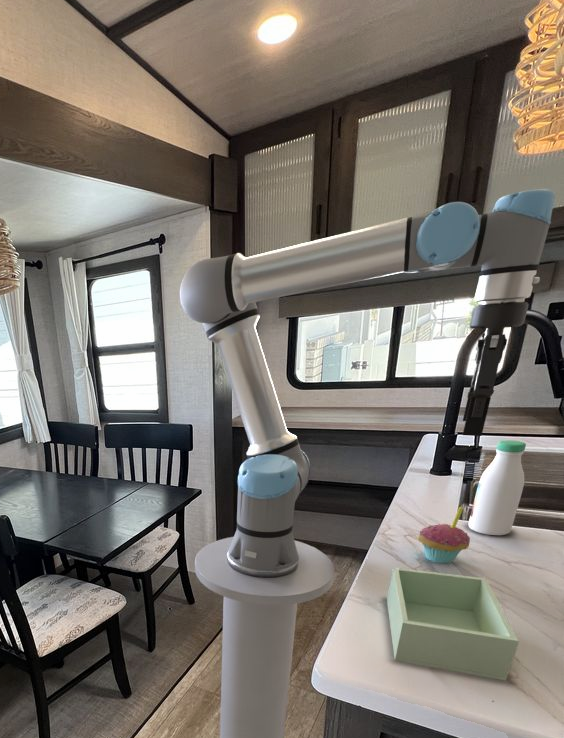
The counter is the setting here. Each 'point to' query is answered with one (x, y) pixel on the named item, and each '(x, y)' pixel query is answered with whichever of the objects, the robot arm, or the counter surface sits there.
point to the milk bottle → (499, 491)
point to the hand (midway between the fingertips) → (471, 427)
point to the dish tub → (449, 623)
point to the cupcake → (444, 541)
